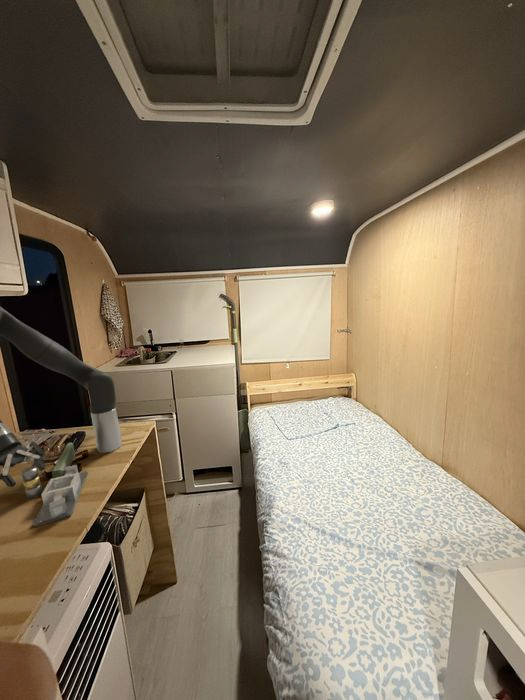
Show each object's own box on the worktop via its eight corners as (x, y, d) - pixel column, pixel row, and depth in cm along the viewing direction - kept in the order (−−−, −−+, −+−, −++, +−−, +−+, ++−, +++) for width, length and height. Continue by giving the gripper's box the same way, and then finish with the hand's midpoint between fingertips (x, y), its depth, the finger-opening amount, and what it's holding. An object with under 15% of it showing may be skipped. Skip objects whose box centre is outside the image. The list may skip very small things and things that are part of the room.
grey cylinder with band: (33, 490, 94) (28, 466, 92) (45, 489, 94) (40, 465, 92) (23, 499, 90) (17, 473, 88) (36, 498, 90) (30, 473, 88)
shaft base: (58, 480, 98) (55, 467, 97) (87, 473, 101) (85, 461, 100) (33, 527, 78) (29, 511, 77) (70, 516, 81) (67, 501, 80)
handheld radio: (52, 489, 94) (70, 453, 117) (64, 486, 96) (79, 451, 118) (49, 471, 93) (68, 438, 116) (61, 469, 94) (77, 436, 117)
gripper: (-26, 444, 84) (7, 485, 83) (26, 424, 98) (55, 458, 96) (-32, 458, 87) (-1, 497, 85) (20, 436, 100) (48, 470, 99)
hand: (29, 477), depth 91 cm, fingers open, 8 cm apart
